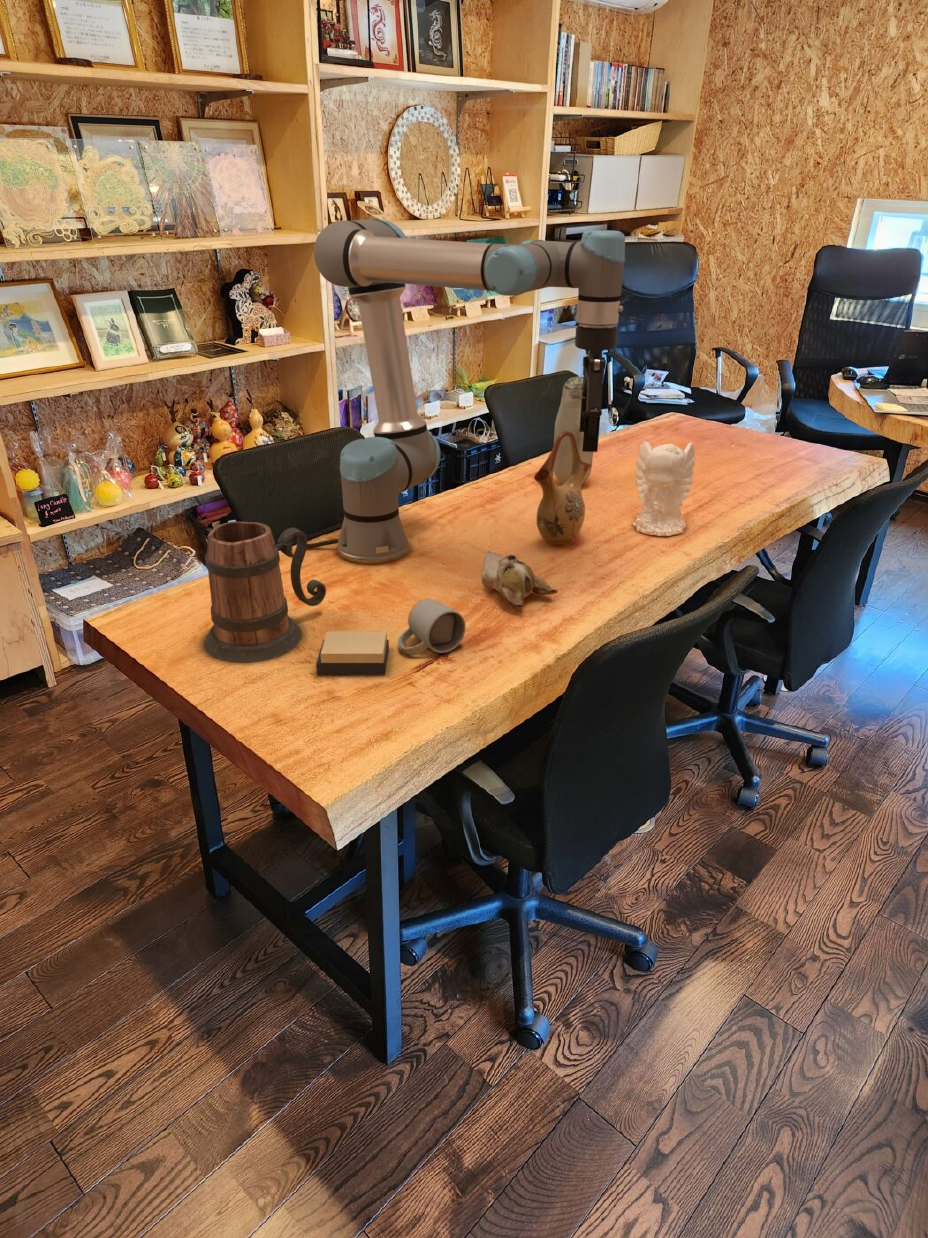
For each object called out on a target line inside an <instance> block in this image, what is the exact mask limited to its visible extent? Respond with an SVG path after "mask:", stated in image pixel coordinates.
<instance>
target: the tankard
mask: <svg viewBox="0 0 928 1238" xmlns="http://www.w3.org/2000/svg"><path fill="white" fill-rule="evenodd" d="M295 536H296V537H297V539H296V540H297V541H296V547H295V550H294V553H293V542H292V539H293V538H294V537H295ZM307 544H308V538H307V535H306V533H305V532H304V531H302V530H300V529H298V528H296V527H289V528H286V529H285V530H284V531H283V532H282V533H281V534H280V536H279V538H278V539H277V544H276V542H275V539H274V536H273V533H272V529H271V528H270V526H269V525H267V524H265V523H262V522H258V521H257V522H254V521H252V522H251V521H249V522H248V521H228V522H224V523H221V524H219V525H217V526H214V527H213V528H212V529H211V530H210V532H209V533H208V534H207V548H206V553H205V555H204V556H205V557H204V558H205V567H206V570H207V572H208V573H207V574H208V583H209V591H210V592H209V593H210V602H211V606H210V617H211V621H212V623H213V625H212V626H211V628H210V629H209V631H208V634H207V635H206V636H205V638H204V640H203V648H204V650H205V652H206V653H207V654H208V655H210V656H211V657H213V658H214V659H217V660H220V661H224V662H230V663H241V664H243V663H255V662H261V661H267V660H271V659H274V658H277V657H280V656H282V655H284V654H286V653H288V652H290V651H292V650H293V649H294V648H295V647H296V646H298V645H299V643H300V642H301V640H302V638H303V630H302V628H301V627H300V625H299V624H297V623H296V622H295V621H294V620H293V618H292V617H290V616H289V615H288V613H289V605H288V600H287V598H286V596H285V593H284V585H283V579H282V573H281V566H280V560H281V557H280V552H281V553H282V554H283V555H285V556H287V557H288V558H291V563H290V583H291V586H292V587H291V588H292V590H293V592H294V595H295V596H296V597H297V599H298V600H299V601H300V602H302V603H304V604H305V605H306V606H308V607H317V606H319V605H320V604H322V602H323V601H324V599H325V598H326V594H327V588H326V585H325V584H324V583H323V582H321V581H319V580H318V579H311V580H309V581H308V582H307V584H306V591H307V593H308V594H309V595H311V596H312V597H310V598H307V596H306V595H305V593H304V590H303V587H302V581H301V572H302V566H303V562H304V559H305V556H306V553H307V549H308V548H307ZM279 551H280V552H279Z"/></svg>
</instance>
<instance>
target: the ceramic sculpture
mask: <svg viewBox="0 0 928 1238" xmlns="http://www.w3.org/2000/svg"><path fill="white" fill-rule="evenodd" d="M481 583H482V586H483V587H484V588H485V589H487V590H490V591H491V590H493V589H494V590H495V591H497V592H499V593H500V595H501V597H502V599H503V601H504V602H505V603H506V604H507V605H508V606H510V607H513V608H520V609H523V608H524V603H525V598H527V597H528V596H529V595H530V594H531V593H533V594H536V595H539V596H549V595H554V594H557V593H558V592H559V591H558V590H557V589H554V588H552V587H551V586H550V585H549V584H548V582H547V581H546V580H545V579H544V578H541V576H539V575H535V573H534V570H533V569H532V566H529V565H528V564H527V563H526V562H523V561H521V560H519V559H518V557H517V556H516V555H514V554H513V555H512V554H510V555H506V556H502V555H501V554H500V553H499V554H498V553H496V552H492V551H491V550H486V552H485V555H484V560H483V567H482V572H481Z"/></svg>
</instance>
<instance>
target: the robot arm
mask: <svg viewBox="0 0 928 1238" xmlns="http://www.w3.org/2000/svg"><path fill="white" fill-rule="evenodd" d="M625 252H626V237H625V234H624V233H623V232H622V231H620V230H612V229H611V230H607V229H606V230H605V229H604V230H602V229H589V230H585V231H584V232H583V233H582V235H581V240H580V241H575V242H570V241H557V240H556V241H555V240H554V241H553V240H543V239H532V240H524V241H522V242H521V243H519V244H508V243H489V242H488V243H486V242H474V241H473V242H472V241H458V240H457V241H455V240H439V239H422V238H407V236H406V234H405V233H404V231H403V230H402V229H401V228H400V227H399V226H398V225H396V224H395V223H394V222H392V221H389V220H387V219H379V218H368V219H354V220H338V221H334V222H332V223H330V224H328V225H326V226H325V227H324V228H323V229H322V230H321V231H320V232H319V233H318V235H317V236H316V239H315V242H314V246H313V257H314V258H313V259H314V263H315V266H316V268H317V270H318V272H319V273H320V275H321V276H322V277H323V278H324V279H325V280H326V282H329V283H330V284H332V285H335V286H338V287H343V288H344V287H346V288H347V290H348V294H349V295H348V296H349V298H351V299H352V300H353V301H354V302H356V303H357V305H358V311H359V316H360V321H361V327H362V333H363V339H364V344H365V350H366V356H367V360H368V361H367V362H368V366H369V372H370V378H371V384H372V385H371V386H372V390H373V396H374V401H375V406H376V413H377V420H378V422H377V424H376V425H375V426H374V428H373V435H374V436H370V437H369V436H368V437H365V438H358V439H355V440H352V441H350V442H349V443H348V444H346V445H345V446H344V447H343V448H342V450H341V452H340V456H339V459H340V461H339V463H340V465H339V474H340V481H341V482H340V483H341V493H342V495H341V496H342V507H343V521H342V524H341V529H340V532H339V536H338V538H333V539H328V540H322V541H318V542H313V543H312V542H311V543H307V549H315V548H316V549H317V548H321V547H324V546H325V547H326V546H330V545H331V546H332V545H336V544H337V553H338V556H339V557H340V558H341V559H344V560H346V561H348V562H350V563H356V564H363V565H377V564H378V565H380V564H385V563H390V562H394V561H397V560H399V559H402V558H403V557H405V555H407V554H408V552H409V547H410V546H409V538H408V536H407V533H406V530H405V528H404V526H403V524H402V520H401V518H400V509H399V507H400V506H399V505H400V504H399V495H400V494H402V493H404V492H407V491H408V490H411V489H412V488H414V487H415V486H418V485H421V484H424V483H425V482H426V481H427V480H429V478H431V477H433V475H434V474H435V472H436V471H437V470H438V468H439V465H440V462H441V448H440V444H439V442H438V440H437V438H436V436H434V435H433V433H432V432H431V431H430V430H428V425H427V421H426V420H425V419H424V418H422V417H421V416H420V415H419V413H418V407H417V406H418V405H417V399H416V395H415V394H416V393H415V387H414V382H413V381H414V380H413V374H412V369H411V361H410V355H409V347H408V341H407V336H406V330H405V323H404V316H403V311H402V304H401V296H402V295H403V293H404V292H405V290H407V289H406V288H407V287H406V285H415V286H425V287H426V286H427V287H440V288H451V289H452V288H453V289H466V290H474V291H475V290H476V291H488V292H493V293H496V294H498V295H500V296H503V297H505V296H507V297H513V296H514V297H515V296H516V297H517V296H521V295H523V294H525V293H528V292H533V291H537V290H542V289H545V288H546V289H547V288H566V289H567V288H570V289H577V290H578V293H577V305H576V317H575V322H576V323H577V324H578V325H577V326H576V327H575V338H574V346H575V347H576V348H577V349H579V350H584V351H585V356H583V357H582V367H583V368H582V375H583V376H582V377H583V386H582V397H585V398H582V402H581V416H580V429H579V432H584V436H583V449H582V451H583V452H593V453H598V449H599V438H600V437H599V436H600V427H601V426H600V425H601V416H602V414H603V410H602V407H603V387H604V386H603V385H604V380H605V370H606V366H607V359H606V358H605V356H603V352H604V351H611V350H614V349H616V347H617V343H618V334H619V333H618V332H619V329H618V327H617V326H616V325H617V324H618V323H619V319H620V314H619V312H623V311H624V305H621V297H622V296H621V295H622V287H623V278H624V267H625V262H626V257H625V254H626V253H625Z"/></svg>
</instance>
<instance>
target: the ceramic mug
mask: <svg viewBox="0 0 928 1238" xmlns="http://www.w3.org/2000/svg"><path fill="white" fill-rule="evenodd" d="M407 624H408V628H407V629H405V630H404V632H402V633H401V635H399V637H398V640H397V644H398V647H399V648H400V650H401V652H402V653H403V654H405V655H407V656H414V655H417V654H420V653H422V652H423V651H425V650H427V649H430V650H431V651H432V652H434V653H437V654H446V653H449V652H451V651H453V650H455V649H456V648H457V647H458V646H459V645H460V644H461V642H462V641H463V639H464V636H465V633H466V621H465V618H464V617H463V615H462V614H461V613H460V612H459V611H458V610H455V609H453V608H452V607H450V606H448V605H446V604H444V603H443V602H441V601H439V600H437V599H433V598H424V599H422V600H420V601H417V603H414V605H413V607H412V608H411V610H410V612H409V613H408V617H407ZM412 635H413V636H415V637H416V638H417V639H418V640H420V641H421V642H420V643H417V644H416V645H413V646H411V647H406V644H405V643H406V641H407V640H408V639H410V638H411V637H412Z"/></svg>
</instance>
